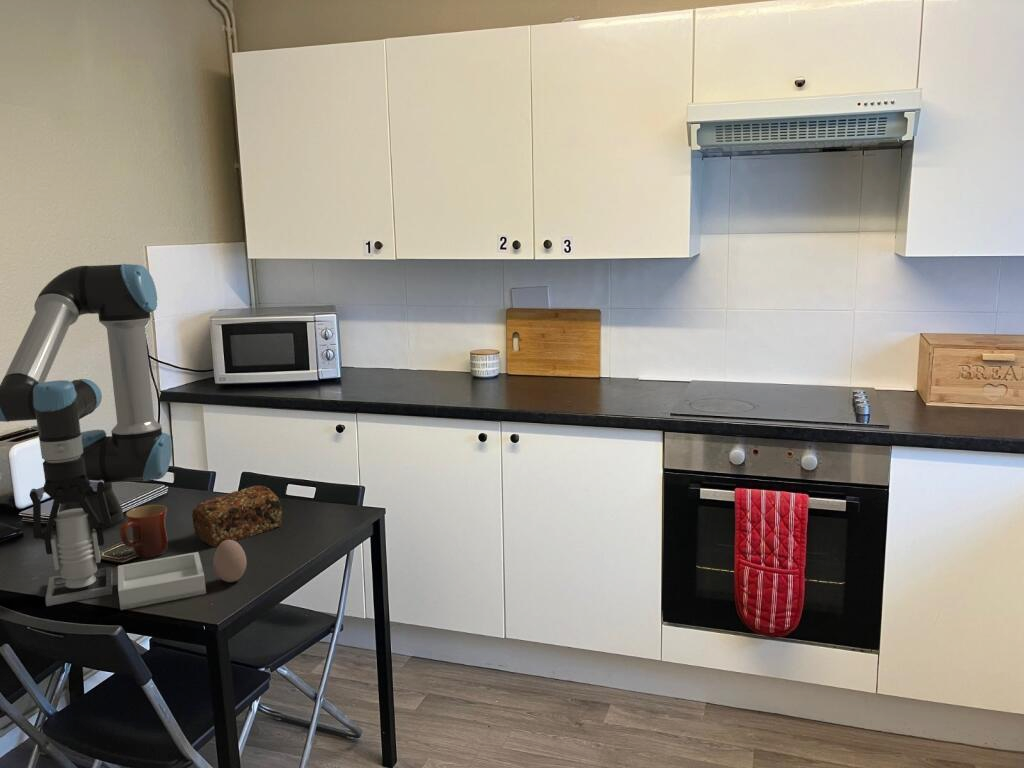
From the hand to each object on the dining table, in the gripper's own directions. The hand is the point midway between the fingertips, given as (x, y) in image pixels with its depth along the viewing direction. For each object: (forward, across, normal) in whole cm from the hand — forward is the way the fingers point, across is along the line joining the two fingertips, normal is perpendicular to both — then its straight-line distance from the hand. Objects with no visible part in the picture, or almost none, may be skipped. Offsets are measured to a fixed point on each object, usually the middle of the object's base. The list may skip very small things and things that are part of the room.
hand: (78, 563), depth 180 cm
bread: (+6, +34, +18) cm, 39 cm away
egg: (+6, +29, -11) cm, 32 cm away
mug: (+6, +13, +13) cm, 19 cm away
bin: (+5, +15, -8) cm, 18 cm away
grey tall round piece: (+4, 0, 0) cm, 4 cm away
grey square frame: (+5, 0, 0) cm, 5 cm away
